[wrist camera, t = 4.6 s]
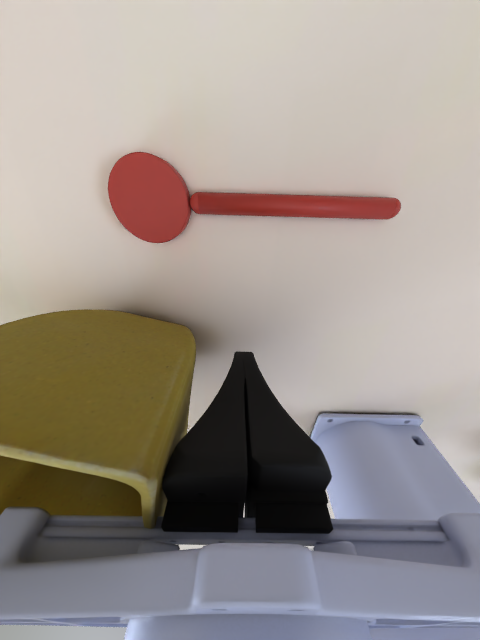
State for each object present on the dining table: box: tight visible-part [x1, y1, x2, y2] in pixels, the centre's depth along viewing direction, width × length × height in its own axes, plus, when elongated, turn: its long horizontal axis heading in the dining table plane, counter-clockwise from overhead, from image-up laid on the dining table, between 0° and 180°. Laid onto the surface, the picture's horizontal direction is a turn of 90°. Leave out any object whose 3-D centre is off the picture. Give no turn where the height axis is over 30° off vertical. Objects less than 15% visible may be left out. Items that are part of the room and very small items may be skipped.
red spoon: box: [108, 152, 401, 243], centre depth 10 cm, size 14×4×1 cm, turn 89°
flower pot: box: [0, 310, 196, 529], centre depth 10 cm, size 9×9×9 cm
